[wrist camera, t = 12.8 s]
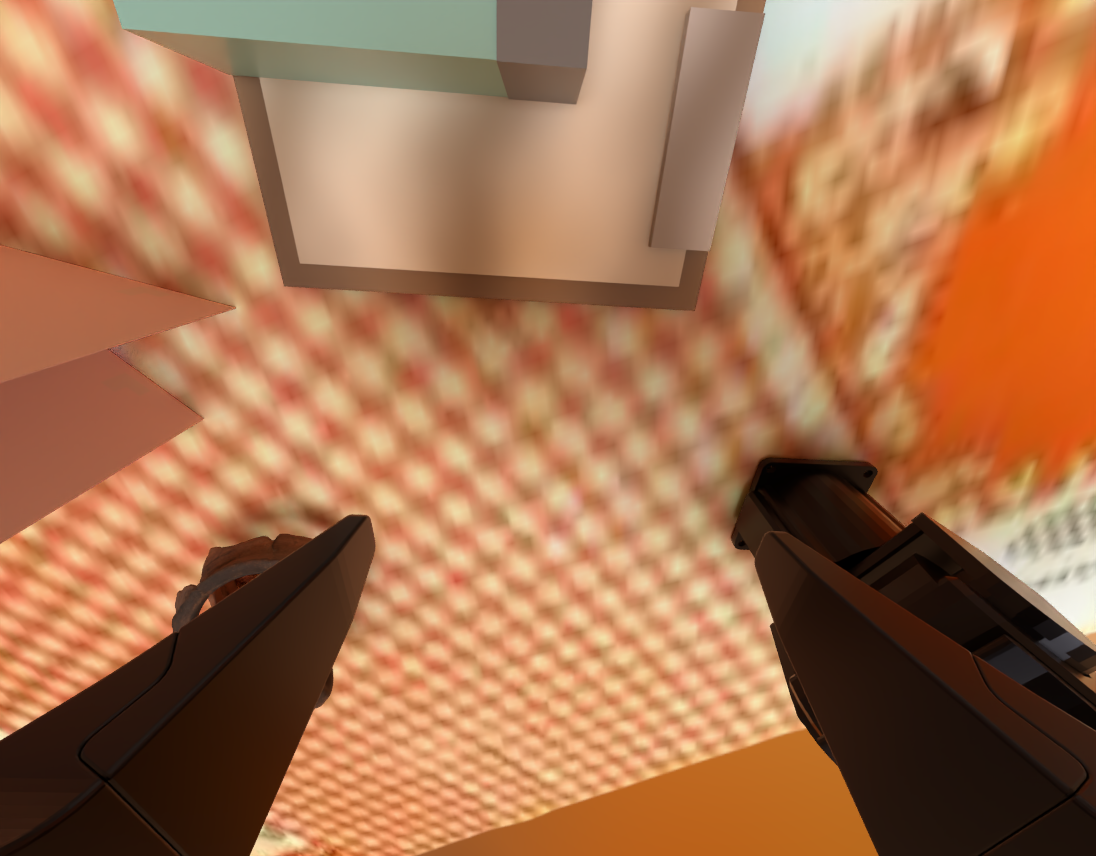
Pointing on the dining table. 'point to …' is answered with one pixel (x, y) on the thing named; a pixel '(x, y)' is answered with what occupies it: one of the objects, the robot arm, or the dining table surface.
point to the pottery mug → (230, 566)
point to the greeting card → (77, 380)
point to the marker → (382, 42)
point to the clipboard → (517, 170)
